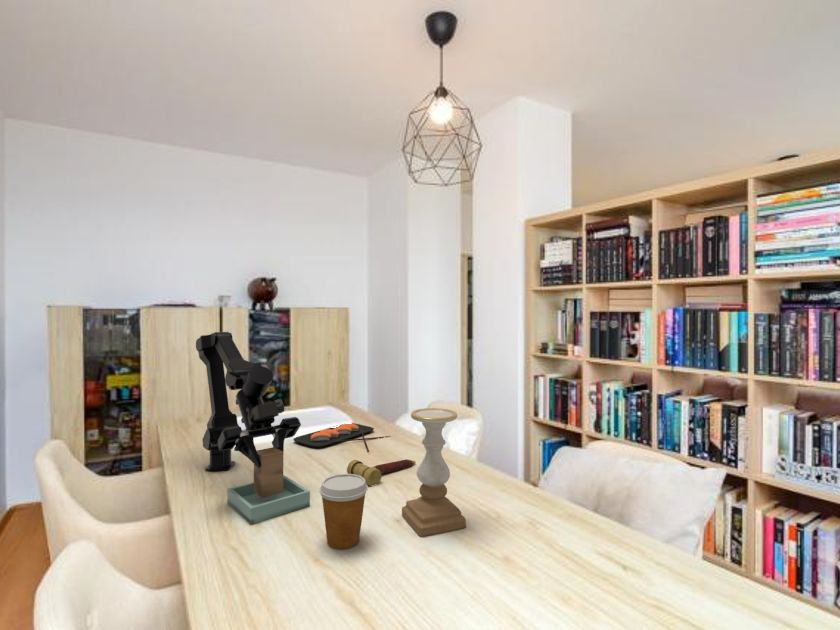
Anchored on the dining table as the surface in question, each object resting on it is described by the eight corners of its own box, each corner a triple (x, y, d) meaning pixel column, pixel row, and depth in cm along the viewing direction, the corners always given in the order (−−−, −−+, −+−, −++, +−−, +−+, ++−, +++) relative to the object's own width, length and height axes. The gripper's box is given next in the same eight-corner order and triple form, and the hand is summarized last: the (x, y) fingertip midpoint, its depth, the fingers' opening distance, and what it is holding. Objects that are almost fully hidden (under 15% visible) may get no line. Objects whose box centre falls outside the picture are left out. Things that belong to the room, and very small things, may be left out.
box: (227, 503, 108) (227, 488, 108) (283, 488, 117) (283, 474, 117) (250, 524, 97) (250, 508, 97) (309, 506, 107) (309, 491, 106)
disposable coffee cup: (375, 534, 94) (375, 476, 94) (353, 558, 85) (354, 494, 85) (334, 526, 97) (334, 470, 97) (309, 548, 88) (309, 487, 88)
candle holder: (400, 515, 103) (401, 409, 102) (444, 507, 107) (445, 405, 107) (419, 537, 93) (421, 420, 92) (467, 527, 97) (468, 416, 96)
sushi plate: (349, 427, 180) (349, 417, 180) (410, 440, 162) (410, 429, 162) (289, 444, 156) (289, 433, 156) (352, 462, 139) (352, 450, 138)
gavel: (404, 450, 140) (427, 458, 132) (403, 465, 140) (426, 474, 132) (347, 460, 126) (368, 470, 118) (346, 477, 125) (367, 488, 118)
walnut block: (253, 491, 107) (254, 451, 107) (274, 485, 111) (274, 447, 110) (262, 498, 104) (262, 456, 103) (283, 492, 107) (283, 452, 107)
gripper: (222, 393, 103) (239, 454, 95) (297, 385, 116) (319, 437, 108) (210, 421, 109) (226, 480, 101) (283, 410, 122) (303, 462, 114)
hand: (271, 464), depth 106 cm, fingers closed on walnut block, 5 cm apart
